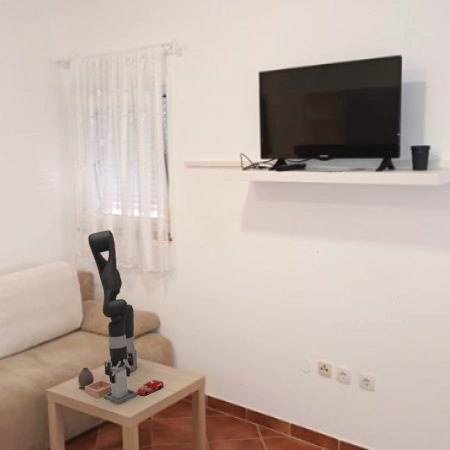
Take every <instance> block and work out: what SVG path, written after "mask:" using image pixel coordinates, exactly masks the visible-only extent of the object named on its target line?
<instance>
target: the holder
mask: <svg viewBox="0 0 450 450" xmlns="http://www.w3.org/2000/svg"><path fill="white" fill-rule="evenodd" d="M101 387H102V388H101ZM99 388H101V389H99ZM97 389H98V390H97ZM109 392H112V390H111V382H110V381H106V380H104V379H100V380H99V379H98V380H97V381H95V382H94V381H93V383H92V384H90V385H87V386H85V388H84V393H85V394H87V395H88V396H89V395H90V396H92V397H94V398H96V399H99V398H101V397H104V395H105V394H107V393H109Z"/></svg>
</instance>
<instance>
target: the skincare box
mask: <svg viewBox="0 0 450 450" xmlns="http://www.w3.org/2000/svg"><path fill="white" fill-rule="evenodd" d="M114 375H115V383H114V384H112V383H111V382H110V383H111V390H112V398H115V399H120V398H122V397H124V396H126V395H127V394H128V377H127V376H126V369H124V368H118V369H117V371H115V374H114Z"/></svg>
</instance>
